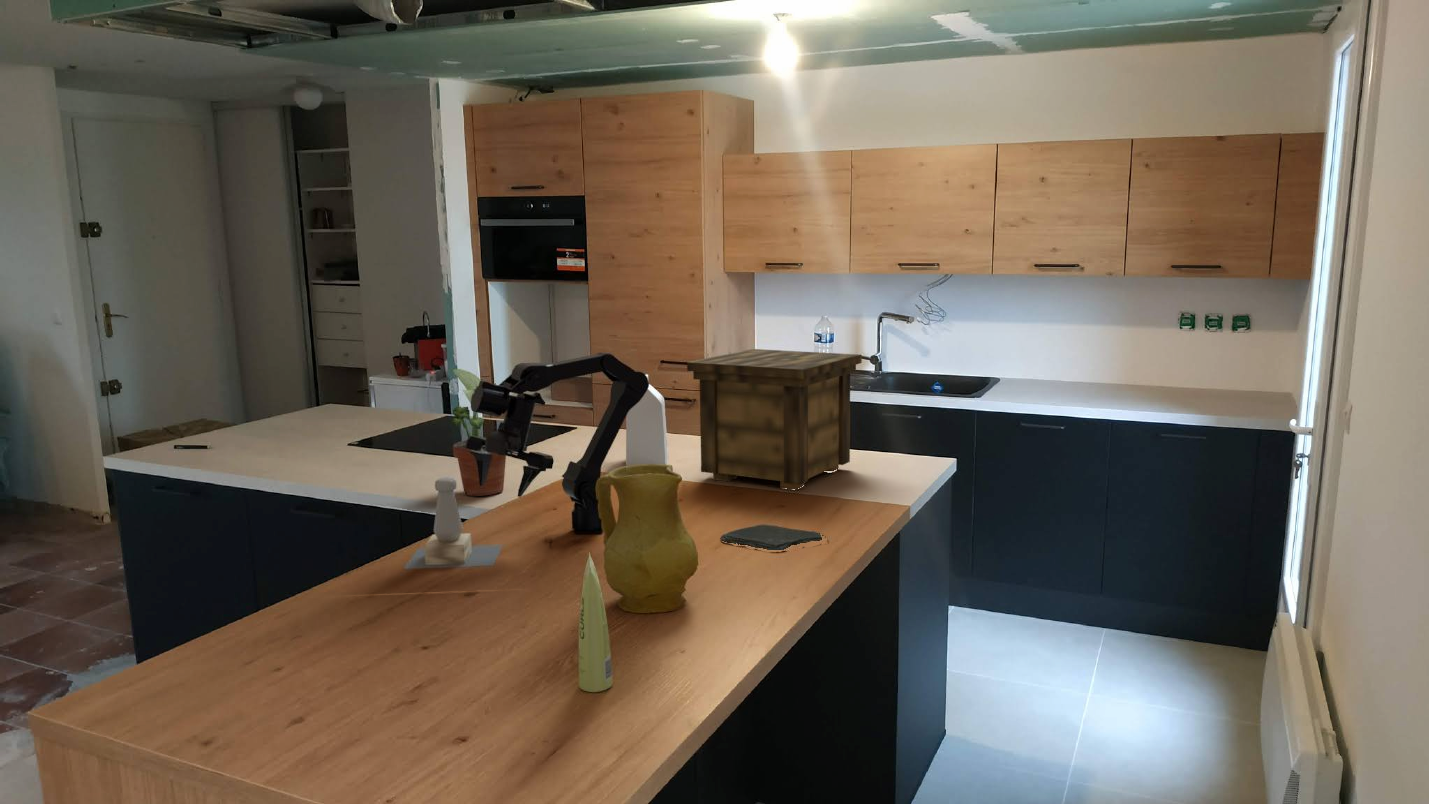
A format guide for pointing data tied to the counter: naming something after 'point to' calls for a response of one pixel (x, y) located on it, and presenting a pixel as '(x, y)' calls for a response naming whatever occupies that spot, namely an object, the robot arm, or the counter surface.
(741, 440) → the crate
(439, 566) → the mat
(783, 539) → the stone slab
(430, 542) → the beech block
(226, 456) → the counter surface
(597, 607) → the tube
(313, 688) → the counter surface
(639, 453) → the milk
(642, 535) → the pitcher
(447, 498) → the salt shaker
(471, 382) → the potted plant
